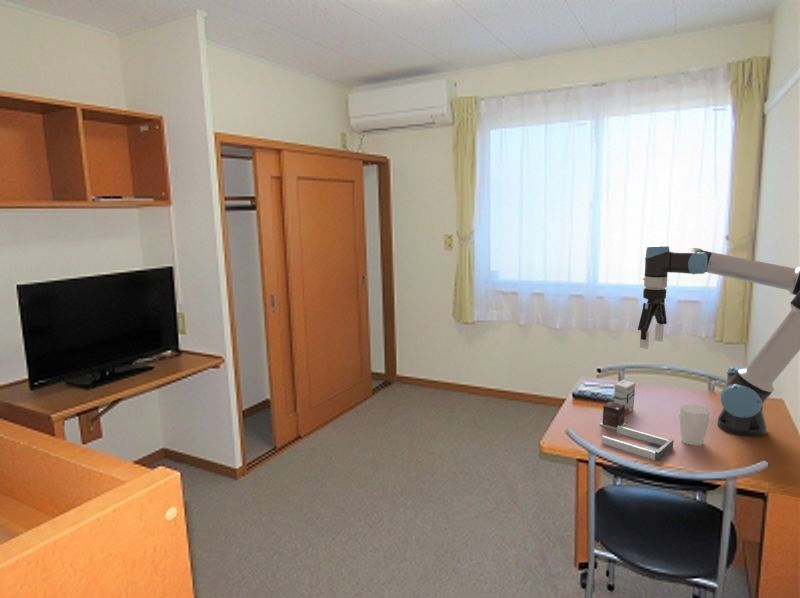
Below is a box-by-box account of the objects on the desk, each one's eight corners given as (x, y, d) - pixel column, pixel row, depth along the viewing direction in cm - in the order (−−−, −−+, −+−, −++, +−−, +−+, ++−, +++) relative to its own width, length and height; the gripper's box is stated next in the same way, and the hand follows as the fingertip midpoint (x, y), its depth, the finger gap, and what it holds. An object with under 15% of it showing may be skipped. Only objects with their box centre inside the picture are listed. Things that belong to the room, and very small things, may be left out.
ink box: (625, 415, 209) (626, 387, 207) (612, 412, 213) (614, 384, 210) (634, 409, 215) (635, 381, 213) (622, 406, 218) (623, 379, 216)
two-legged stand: (672, 448, 181) (673, 439, 181) (657, 461, 172) (658, 452, 172) (618, 431, 195) (618, 424, 194) (601, 443, 186) (602, 435, 185)
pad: (626, 424, 201) (626, 423, 200) (617, 430, 196) (618, 429, 196) (608, 419, 206) (608, 418, 205) (599, 425, 201) (599, 423, 201)
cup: (706, 449, 179) (709, 416, 177) (676, 444, 184) (678, 411, 182) (707, 439, 187) (710, 407, 185) (678, 434, 192) (681, 402, 190)
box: (608, 419, 205) (609, 401, 203) (624, 423, 201) (625, 404, 199) (602, 424, 200) (602, 405, 199) (618, 428, 196) (619, 409, 195)
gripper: (657, 282, 204) (654, 336, 208) (630, 291, 187) (626, 349, 191) (678, 284, 199) (674, 339, 203) (651, 293, 182) (648, 353, 186)
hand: (651, 344), depth 197 cm, fingers open, 13 cm apart
